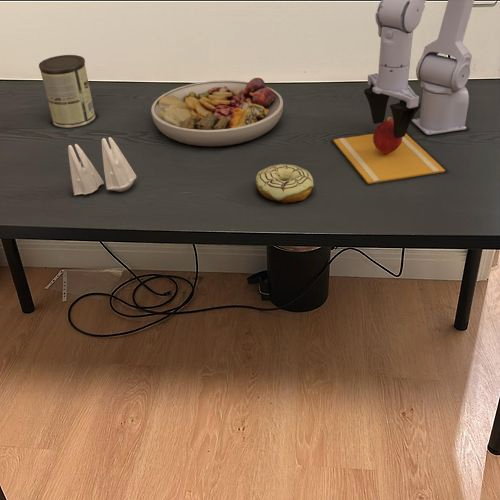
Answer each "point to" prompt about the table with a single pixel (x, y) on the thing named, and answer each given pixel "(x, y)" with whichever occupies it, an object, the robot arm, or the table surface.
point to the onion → (386, 137)
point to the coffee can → (67, 90)
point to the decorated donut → (284, 183)
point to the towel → (387, 159)
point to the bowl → (218, 112)
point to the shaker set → (88, 178)
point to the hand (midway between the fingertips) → (388, 129)
